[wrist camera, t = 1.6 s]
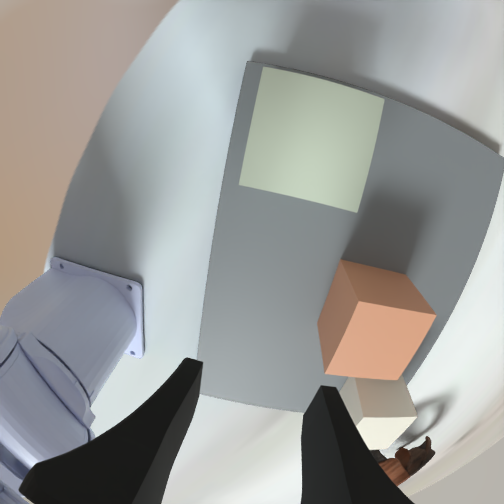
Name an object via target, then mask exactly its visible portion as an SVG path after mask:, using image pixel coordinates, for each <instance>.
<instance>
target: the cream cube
mask: <svg viewBox="0 0 504 504" xmlns="http://www.w3.org/2000/svg"><path fill="white" fill-rule="evenodd" d="M339 393H340V396H341V398H342V400H343V402H344V404H345V406H346V408H347V410H348V412H349V414H350V416H351V418H352V420H353V422H354V424H355V426H356V427H357V429H358V431H359V433H360V435H361V437H362V438H363V440H364V442H365V443H366V445H367V447H368V448H369V450H378V449H387V448H388V447H389V446H390V445H391V444H392V443H393V442H394V441H395V440H396V439H397V438H398V437H399V436H400V435H401V434H402V433H403V432H404V431H405V430H406V429H407V428H408V427H409V426H410V425H411V424H412V423H413V421H414V420H415V419H416V418H417V417H418V415H417V413H416V410H415V407H414V404H413V402H412V399H411V396H410V394H409V391H408V388H407V386H406V383H405V381H404V378H403V376H402V374H401V376H400V377H399V379H398V380H383V379H369V378H358V377H348V379H347V380H346V382H345V384H344V385H343V387H342V389H341V390H340V392H339Z"/></svg>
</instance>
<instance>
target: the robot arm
mask: <svg viewBox="0 0 504 504" xmlns="http://www.w3.org/2000/svg"><path fill="white" fill-rule="evenodd" d="M50 263H51V269H49V270H48V271H47V272H45V273H44V274H42V275H41V276H40V277H38V278H37V279H36V280H34V281H33V282H32V283H30V284H29V285H28V286H26V287H25V288H24V289H22V290H21V291H20V292H19V293H18V294H16V295H15V296H13V297H12V299H10V300H9V302H8V303H7V304H6V306H5V308H4V310H3V312H2V315H1V317H0V504H29V503H28V502H27V501H25V500H24V499H23V498H22V497H26V498H27V499H29V500H30V501H31V502H33V503H34V504H161V502H162V499H163V495H164V492H165V488H166V485H167V481H168V478H169V475H170V471H171V469H172V466H173V463H174V461H175V458H176V456H177V454H178V451H179V449H180V447H181V444H182V442H183V440H184V437H185V435H186V433H187V430H188V428H189V426H190V423H191V421H192V418H193V415H194V412H195V408H196V405H197V402H198V398H199V394H200V386H201V378H202V370H203V362H202V361H198V360H195V359H191V358H185V359H184V360H183V361H182V362H181V364H180V365H179V366H178V368H177V369H176V370H175V371H174V372H173V374H172V375H171V376H170V377H169V378H168V379H167V380H166V382H165V383H164V384H163V385H162V386H161V387H160V388H159V389H158V390H157V391H156V392H155V393H154V394H153V395H152V396H151V397H150V398H149V399H148V400H146V401H145V402H144V403H143V404H142V405H141V406H140V407H138V408H137V409H136V410H135V411H134V412H133V413H131V414H130V415H129V416H128V417H126V418H125V419H124V420H122V421H121V422H120V423H118V424H117V425H115V426H114V427H112V428H111V429H109V430H108V431H106V432H105V433H103V434H101V435H100V436H98V437H96V438H95V435H94V433H93V431H92V429H91V428H90V426H91V424H92V422H93V421H94V419H95V415H94V414H93V413H92V411H91V410H90V407H91V405H92V404H93V402H94V400H95V399H96V397H97V395H98V394H99V392H100V391H101V389H102V387H103V386H104V384H105V382H106V381H107V379H108V378H109V376H110V374H111V373H112V371H113V370H114V368H115V367H116V365H117V363H118V362H119V360H120V359H121V357H122V356H123V354H127V355H130V356H133V357H136V358H140V359H141V358H143V356H144V342H143V308H142V286H141V284H140V283H138V282H136V281H132V280H128V279H125V278H122V277H118V276H115V275H111V274H108V273H105V272H101V271H98V270H95V269H92V268H88V267H85V266H82V265H79V264H76V263H73V262H69V261H66V260H63V259H60V258H57V257H53V258H52V259H51V260H50ZM62 264H63V265H62ZM63 266H64V267H63ZM129 285H130V286H131V287H132V288H130V287H129ZM301 451H302V498H301V504H414V503H413V502H412V501H411V500H410V499H409V498H408V497H407V496H406V495H405V494H404V493H403V492H402V491H401V490H400V489H399V488H398V487H397V486H396V485H395V484H394V483H393V482H392V480H391V479H390V478H389V477H388V475H387V474H386V473H385V472H384V470H383V469H382V468H381V466H380V465H379V464H378V462H377V461H376V459H375V458H374V456H373V455H372V453H371V452H370V450H369V448H368V447H367V445H366V443H365V442H364V440H363V438H362V437H361V435H360V433H359V431H358V429H357V427H356V426H355V424H354V422H353V420H352V418H351V416H350V414H349V412H348V410H347V408H346V406H345V404H344V402H343V400H342V398H341V396H340V393H339V391H338V389H337V388H336V387H332V386H324V385H321V386H320V387H319V389H318V391H317V393H316V394H315V396H314V398H313V400H312V401H311V403H310V405H309V407H308V408H307V410H306V412H305V413H304V415H303V424H302V435H301Z"/></svg>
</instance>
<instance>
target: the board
mask: <svg viewBox="0 0 504 504" xmlns="http://www.w3.org/2000/svg"><path fill="white" fill-rule="evenodd" d="M263 67H269V68H274V69H280V70H285V71H290V72H294V73H299V74H303V75H307V76H311V77H315V78H319V79H323V80H327V81H330V82H334V83H337V84H341V85H344V86H347V87H351V88H354V89H357V90H360V91H363V92H366V93H369V94H372V95H374V96H377V97H380V98H383V99H385V100H384V105H383V110H382V115H381V120H380V125H379V130H378V134H377V139H376V143H375V148H374V152H373V156H372V160H371V164H370V168H369V172H368V176H367V180H366V183H365V187H364V191H363V194H362V198H361V202H360V205H359V209H358V212H357V213H355V212H352V211H348V210H344V209H340V208H337V207H333V206H329V205H325V204H321V203H317V202H313V201H309V200H305V199H301V198H296V197H292V196H288V195H283V194H279V193H275V192H270V191H265V190H261V189H256V188H251V187H246V186H242V185H239V181H240V175H241V170H242V165H243V160H244V155H245V150H246V145H247V140H248V135H249V130H250V126H251V121H252V116H253V111H254V107H255V102H256V97H257V93H258V88H259V83H260V79H261V74H262V70H263ZM503 172H504V158H503V157H502V156H500V155H499V154H497V153H496V152H494V151H493V150H491V149H490V148H488V147H487V146H485V145H483V144H482V143H480V142H479V141H477V140H475V139H474V138H472V137H470V136H468V135H467V134H465V133H463V132H461V131H459V130H458V129H456V128H454V127H452V126H450V125H448V124H446V123H444V122H442V121H440V120H438V119H436V118H434V117H432V116H430V115H428V114H426V113H424V112H422V111H419V110H417V109H415V108H413V107H410V106H408V105H406V104H403V103H401V102H399V101H396V100H394V99H391V98H389V97H386V96H383V95H381V94H378V93H375V92H372V91H370V90H367V89H364V88H361V87H358V86H355V85H351V84H348V83H345V82H342V81H338V80H335V79H331V78H328V77H324V76H320V75H316V74H312V73H308V72H304V71H300V70H295V69H291V68H286V67H281V66H275V65H270V64H264V63H258V62H251V61H247V63H246V68H245V72H244V77H243V81H242V86H241V90H240V95H239V99H238V104H237V109H236V114H235V119H234V124H233V129H232V134H231V139H230V144H229V149H228V154H227V160H226V165H225V170H224V176H223V181H222V187H221V193H220V199H219V204H218V210H217V216H216V223H215V229H214V235H213V241H212V248H211V255H210V261H209V268H208V275H207V282H206V289H205V297H204V304H203V312H202V320H201V328H200V336H199V345H198V353H197V360H198V361H202V362H203V370H202V378H201V386H200V394H202V395H206V396H210V397H215V398H219V399H224V400H228V401H233V402H238V403H243V404H248V405H254V406H259V407H265V408H272V409H278V410H286V411H293V412H302V413H305V412H306V410H307V408H308V407H309V405H310V403H311V401H312V400H313V398H314V396H315V394H316V393H317V391H318V389H319V387H320V386H321V385H324V386H332V387H336V388H337V389H338V391H339V392H340V390H341V389H342V387H343V385H344V384H345V382H346V380H347V379H348V376H338V375H330V374H325V373H324V366H323V359H322V352H321V345H320V339H319V333H318V326H317V322H318V319H319V317H320V314H321V311H322V309H323V306H324V304H325V301H326V298H327V295H328V293H329V290H330V287H331V284H332V282H333V279H334V276H335V273H336V270H337V267H338V264H339V261H340V259H341V260H346V261H350V262H354V263H359V264H363V265H367V266H372V267H376V268H380V269H384V270H389V271H393V272H397V273H401V274H406V275H407V277H408V278H409V279H410V280H411V282H412V283H413V284H414V286H415V287H416V288H417V289H418V291H419V292H420V293H421V295H422V296H423V297H424V299H425V300H426V301H427V303H428V304H429V305H430V307H431V308H432V309H433V311H434V312H435V313H436V315H437V316H436V318H435V319H434V321H433V323H432V325H431V327H430V329H429V330H428V332H427V334H426V336H425V337H424V339H423V341H422V343H421V344H420V346H419V348H418V349H417V351H416V353H415V354H414V356H413V357H412V359H411V361H410V362H409V364H408V365H407V367H406V368H405V370H404V371H403V373H402V376H403V378H404V381H405V383H406V386H407V384H408V383H409V382H410V380H411V379H412V377H413V376H414V375H415V373H416V372H417V370H418V369H419V367H420V366H421V364H422V363H423V361H424V360H425V358H426V357H427V355H428V353H429V352H430V350H431V349H432V347H433V345H434V344H435V342H436V340H437V339H438V337H439V335H440V333H441V332H442V330H443V328H444V326H445V325H446V323H447V321H448V319H449V317H450V315H451V314H452V312H453V310H454V308H455V306H456V304H457V302H458V300H459V298H460V296H461V294H462V292H463V289H464V287H465V285H466V283H467V281H468V279H469V276H470V274H471V272H472V269H473V267H474V265H475V262H476V260H477V257H478V255H479V252H480V249H481V247H482V244H483V241H484V239H485V236H486V233H487V230H488V227H489V224H490V221H491V218H492V214H493V211H494V208H495V204H496V201H497V197H498V193H499V189H500V185H501V181H502V177H503Z"/></svg>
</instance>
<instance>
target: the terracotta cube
mask: <svg viewBox="0 0 504 504" xmlns="http://www.w3.org/2000/svg"><path fill="white" fill-rule="evenodd" d="M436 316H437V315H436V313H435V312H434V311H433V309H432V308H431V307H430V305H429V304H428V303H427V301H426V300H425V299H424V297H423V296H422V295H421V293H420V292H419V291H418V289H417V288H416V287H415V286H414V284H413V283H412V282H411V280H410V279H409V278H408V277H407V275H406V274H401V273H397V272H393V271H389V270H384V269H380V268H376V267H372V266H367V265H363V264H359V263H354V262H350V261H346V260H341V259H340V261H339V264H338V267H337V270H336V273H335V276H334V279H333V282H332V284H331V287H330V290H329V293H328V295H327V298H326V301H325V304H324V306H323V309H322V311H321V314H320V317H319V319H318V322H317V326H318V333H319V339H320V345H321V352H322V359H323V366H324V373H325V374H330V375H338V376H348V377H358V378H369V379H383V380H398V379H399V377H400V376H401V374H402V373H403V371H404V370H405V368H406V367H407V365H408V364H409V362H410V361H411V359H412V357H413V356H414V354H415V353H416V351H417V349H418V348H419V346H420V344H421V343H422V341H423V339H424V337H425V336H426V334H427V332H428V330H429V329H430V327H431V325H432V323H433V321H434V319H435V318H436Z"/></svg>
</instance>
